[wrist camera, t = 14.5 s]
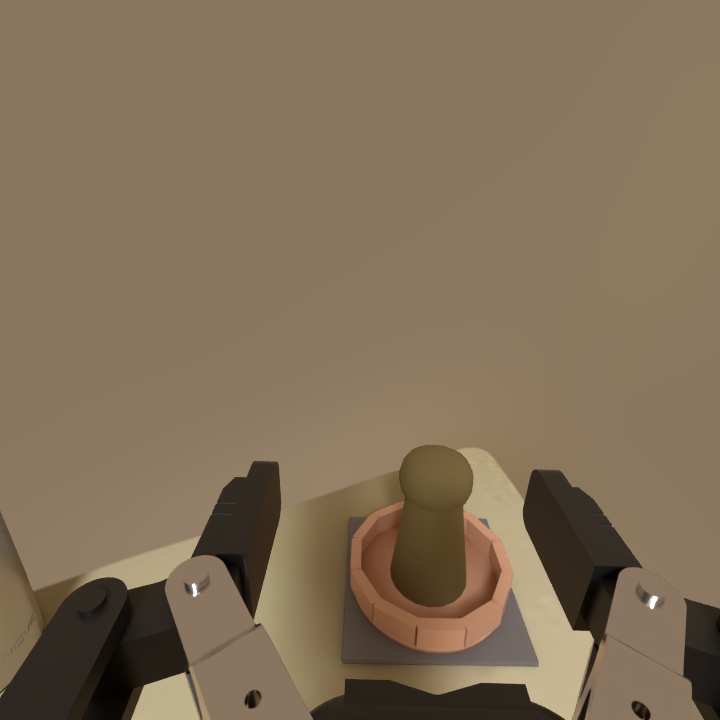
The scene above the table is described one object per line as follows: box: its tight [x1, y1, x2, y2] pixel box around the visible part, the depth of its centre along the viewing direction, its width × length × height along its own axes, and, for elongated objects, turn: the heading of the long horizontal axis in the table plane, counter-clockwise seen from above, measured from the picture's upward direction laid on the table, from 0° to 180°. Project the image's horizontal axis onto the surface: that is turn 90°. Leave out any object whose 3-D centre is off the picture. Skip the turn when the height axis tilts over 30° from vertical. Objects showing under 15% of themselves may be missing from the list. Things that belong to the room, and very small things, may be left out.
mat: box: [342, 517, 539, 667], centre depth 34 cm, size 13×13×1 cm
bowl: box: [350, 501, 513, 654], centre depth 33 cm, size 12×12×2 cm
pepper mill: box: [390, 445, 473, 607], centre depth 31 cm, size 6×6×11 cm
